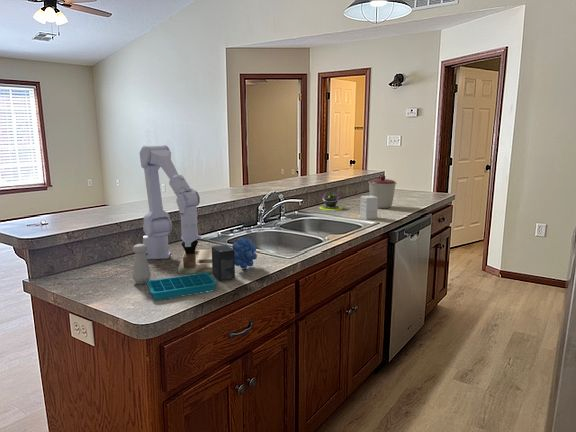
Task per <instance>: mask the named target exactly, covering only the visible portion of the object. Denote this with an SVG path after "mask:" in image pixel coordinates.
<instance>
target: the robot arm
mask: <svg viewBox="0 0 576 432" xmlns="http://www.w3.org/2000/svg"><path fill="white" fill-rule="evenodd" d="M139 160H140V167H141V168H142V169H143V171H144V179H145V180H144V181H145V188H146V194H147V202H148V204H147V205H148V209H149V211H148V212H147V213H146V214H145V215H144V216H143V225H142V228H143V229H142V230H143V232H144V234H145V235H143V236H142V237H143V238H142V244H145V245H146V247H147V251H146V252H145V253H146V257H147V260H163V259H166V260H169V258H170V256H171V255H172V252H171V251H170V250H169V237H168V236H169V234H170V232H171V231H172V228H173V223H172V220H171V218H170V214H169V213H168V212H166V211H165V210H164V208H163V199H162V191H161V184H160V183H161V182H160V177H159V175H160V174H159V170H160V169H162V170H163V173H165V175H166V176H167V177H168V179H169V182H168V184H169V186H170V188H171V189H172V191H173V193H174V195H175V196H176V200H175V201H176V204H177V207H178V212H179V214H180V226H181V227H180V230H181V236H180V239H181V240H182V241H181V246H182V248H183V250H184V251H185V253H186V254H195V250H197V249H196V248H197V246H198V243H199V239H202V235H199V231H198V210H197V208H198V206H199V205H200V202H201V199H200V194H199V193H198V191H197V190H195V189H193V188H191V187H190V185H189V183H188V181H186V179H185V177H184V176H183V175H182V174H179V172H178V171H177V169H176V166H175V165H174V163H173V161H172V152H171V149H170V148H169V146H168V145H167V144H163V145H143V146H142V147H141V149H140V151H139Z"/></svg>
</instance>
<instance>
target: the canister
mask: <svg viewBox="0 0 576 432" xmlns="http://www.w3.org/2000/svg"><path fill="white" fill-rule="evenodd" d="M367 183H368V184H369V186H368V187H369V188H368V189H369V196H371V195H372V196H375V197H378V207H377V209H390V208H391V207H392V205H393V200H394V196H395V191H396V185H397V184H398V183H397V181H395V180H393V179H388V178H386V175H383V174H381V175H380V176H379V178H375V179H371V180H368V182H367Z"/></svg>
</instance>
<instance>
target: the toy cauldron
mask: <svg viewBox="0 0 576 432" xmlns="http://www.w3.org/2000/svg"><path fill="white" fill-rule="evenodd" d="M324 194H326V195H325V196H322V199H323V202H324V205H322V206H319V207H318V209H320V210H323V211H340V210H342V209H343V207H342V206H338V202H339V201H338V200H339V199H340V198H341V197H339V196H337V195H336V196H335V194H333V195H327V193H324Z"/></svg>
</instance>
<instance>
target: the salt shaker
mask: <svg viewBox="0 0 576 432" xmlns="http://www.w3.org/2000/svg"><path fill="white" fill-rule="evenodd" d="M146 251H147V247H146V245H145V244H143V243H137V244H135V245H133V246H132V252H133V253H135V254H134V261H133V268H132V269H133V270H132V276H131V277H132V279H133V280H134V282H135V284H136V285H145V284H147V282H148V281H150V280H151V279H150V278H151V270H150V267H149V261H148V259H147V257H146V253H145V252H146Z"/></svg>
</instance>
